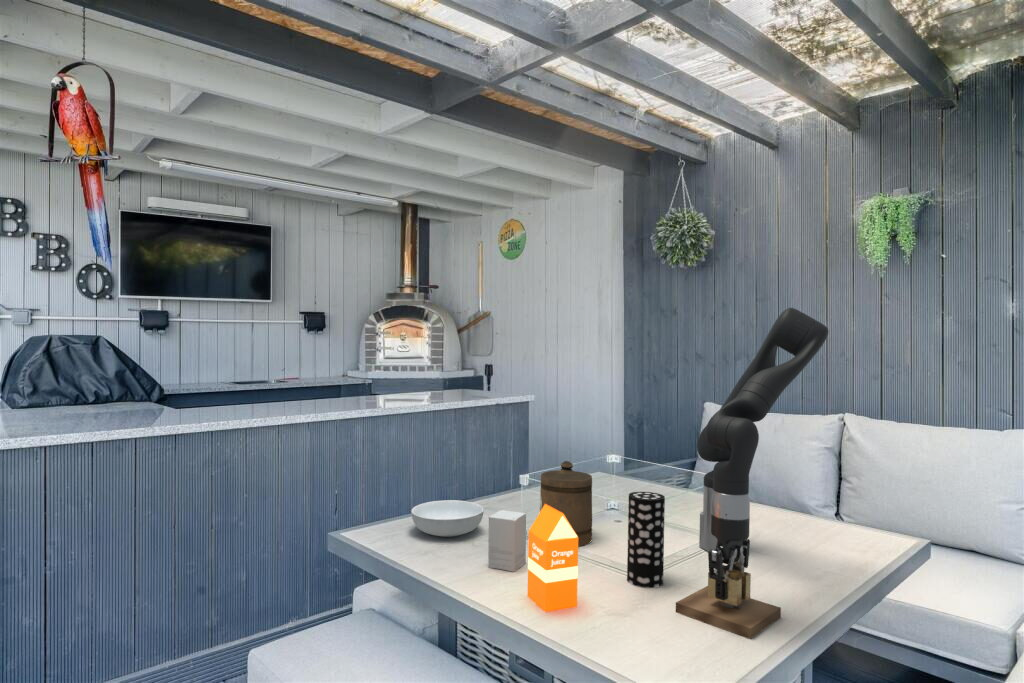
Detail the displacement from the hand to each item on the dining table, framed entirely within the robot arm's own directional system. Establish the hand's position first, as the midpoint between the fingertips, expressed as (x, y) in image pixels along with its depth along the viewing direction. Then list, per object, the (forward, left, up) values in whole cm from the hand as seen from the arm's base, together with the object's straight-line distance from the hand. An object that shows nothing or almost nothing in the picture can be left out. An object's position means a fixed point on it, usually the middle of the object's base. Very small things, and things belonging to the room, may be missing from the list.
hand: (728, 594), depth 130 cm
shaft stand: (0, 0, -4) cm, 4 cm away
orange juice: (-29, -22, -5) cm, 37 cm away
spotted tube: (-22, +3, -5) cm, 23 cm away
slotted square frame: (0, 0, -1) cm, 1 cm away
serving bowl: (-82, -8, -5) cm, 83 cm away
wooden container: (-55, +13, -5) cm, 57 cm away
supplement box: (-51, -14, -5) cm, 53 cm away
